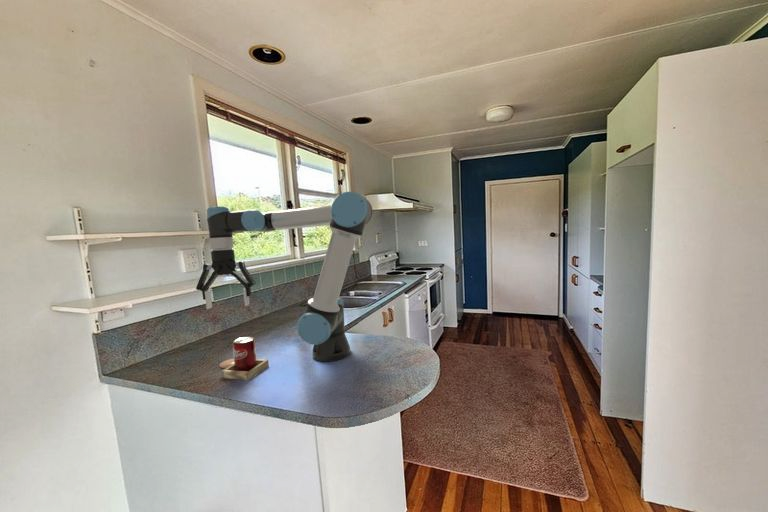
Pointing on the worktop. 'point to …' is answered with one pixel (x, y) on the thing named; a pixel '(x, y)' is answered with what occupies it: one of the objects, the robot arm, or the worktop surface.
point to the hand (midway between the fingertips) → (228, 306)
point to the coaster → (227, 363)
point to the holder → (245, 375)
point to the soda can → (244, 354)
